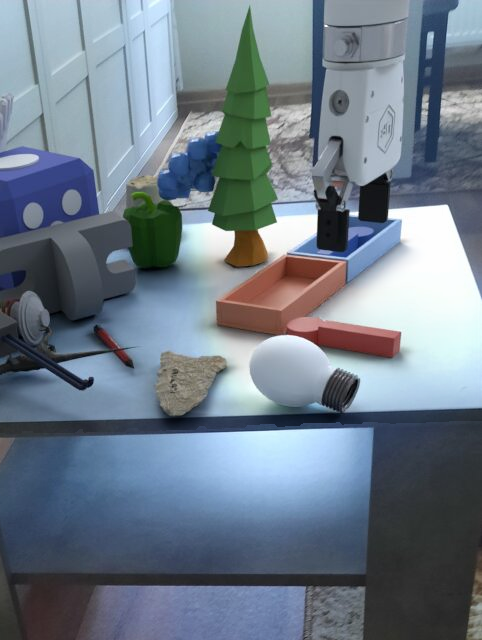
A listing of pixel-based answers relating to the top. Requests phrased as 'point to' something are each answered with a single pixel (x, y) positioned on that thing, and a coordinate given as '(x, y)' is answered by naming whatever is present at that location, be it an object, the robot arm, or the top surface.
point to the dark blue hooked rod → (34, 353)
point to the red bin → (280, 293)
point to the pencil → (113, 346)
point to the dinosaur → (28, 365)
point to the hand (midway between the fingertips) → (352, 235)
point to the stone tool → (185, 380)
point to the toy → (39, 189)
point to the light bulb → (300, 374)
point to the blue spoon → (352, 241)
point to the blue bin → (363, 256)
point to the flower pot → (142, 190)
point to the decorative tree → (244, 156)
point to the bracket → (70, 264)
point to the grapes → (190, 169)
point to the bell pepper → (154, 232)
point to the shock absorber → (27, 316)
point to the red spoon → (346, 336)
